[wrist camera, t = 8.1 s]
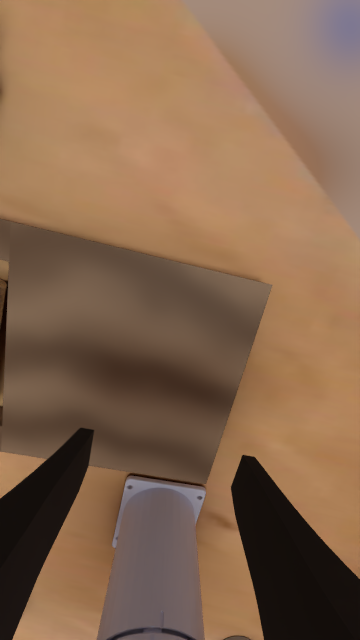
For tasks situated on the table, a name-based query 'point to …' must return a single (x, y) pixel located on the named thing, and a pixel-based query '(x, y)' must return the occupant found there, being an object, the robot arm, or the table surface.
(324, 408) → the table surface
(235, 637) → the container
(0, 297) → the roller
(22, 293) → the grey brown board
